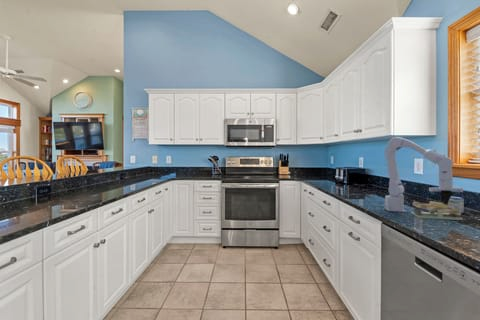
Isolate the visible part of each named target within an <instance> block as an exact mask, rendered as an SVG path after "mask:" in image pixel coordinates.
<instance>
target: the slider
mask: <svg viewBox="0 0 480 320" xmlns="http://www.w3.org/2000/svg"><path fill="white" fill-rule="evenodd" d="M428 204H429V206H433V207H439V208H444V209H447V205H446V204H444V202H438V201H434V200H433V201H432V200H429V203H428Z"/></svg>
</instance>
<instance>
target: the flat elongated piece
mask: <svg viewBox="0 0 480 320" xmlns="http://www.w3.org/2000/svg"><path fill="white" fill-rule="evenodd" d="M412 206H414V207H416V209H423V210H426V211H427V210H428V211H429V210H433V211H434V212H437V210H443V213H450V214H456V215H459V216H461V215H462V213H461V211H459V210H456V209H454V208H448V207H447V209H444V208H439V207H433V206H429V203H424V202H417V201H413V202H412Z"/></svg>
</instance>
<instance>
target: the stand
mask: <svg viewBox="0 0 480 320" xmlns="http://www.w3.org/2000/svg"><path fill="white" fill-rule="evenodd" d="M410 214H412V215H413V216H415V217H417V218H418V219H432V220H433V219H434V220H438V219H439V220H451V221H453V220H457V221H464V218H463V217H461V216H460V215H456V214H450V213H444V212H443V210H437V211H436V212H435V211H433V210H428V212H427V211H426V212H425V211H422V210H420V208H413V211H411V212H410Z"/></svg>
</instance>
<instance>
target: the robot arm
mask: <svg viewBox="0 0 480 320" xmlns="http://www.w3.org/2000/svg"><path fill="white" fill-rule="evenodd" d="M402 148H409V149H411V150H413V151H416V152H418V153H419V154H422V155H423V158H424V159H426V160H427V161H429V162H432V164H435V165H437V166H438V187H428V191H429V192H438V193H439V195H440V197H441V199H442V201H443V202H442V203H444V204H446V205H448V201H449V199H450V197H451V196H452V197H453V195H454V193H464V188H463V187H453V186H454V185H453V183H454V182H453V167H452V166H453V164H454V161H453V159H452V158H450V156H449V157H448V156H446V154H442V153H440V152H439V151H437V150H436V149H431V148H429V149H426V148H424V147H422V146H421V145H419V144H417V143H416V142H413V141H412V140H410V139H407V138H404V137H402V136H394V137H391V139H389V140H388V142H387V145H386V148H385V150H384V154H385V162H386V167H387V171H388V176H389V182H388V189H387V191H388V193H389V194H388V195H387V194H386V195H385V197H384V209H385V210H387V212H400V213H401V212H405V213H406V212H407V210H406V209H404V205H405V203H404V201H405V199H404V198H405V197H404V192H405V187H404V185H403V183H402V181H401V178H400V175H399V168H398V162H397V159H396V158H397V157H396V153H397V152H398V151H399V150H400V149H402Z"/></svg>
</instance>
